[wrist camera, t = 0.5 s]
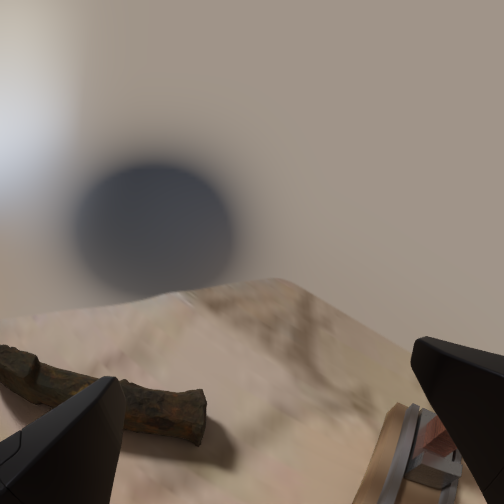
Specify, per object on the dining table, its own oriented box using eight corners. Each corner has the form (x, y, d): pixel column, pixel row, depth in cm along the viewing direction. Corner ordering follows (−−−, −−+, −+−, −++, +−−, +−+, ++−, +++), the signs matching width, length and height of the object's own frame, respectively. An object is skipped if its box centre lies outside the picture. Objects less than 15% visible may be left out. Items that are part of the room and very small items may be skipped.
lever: (439, 489, 13) (520, 433, 9) (401, 476, 15) (480, 417, 11) (449, 428, 19) (510, 367, 15) (416, 413, 21) (475, 348, 17)
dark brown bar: (204, 408, 21) (211, 377, 19) (202, 451, 18) (208, 427, 15) (7, 355, 18) (-9, 318, 16) (-10, 386, 15) (-32, 351, 13)
